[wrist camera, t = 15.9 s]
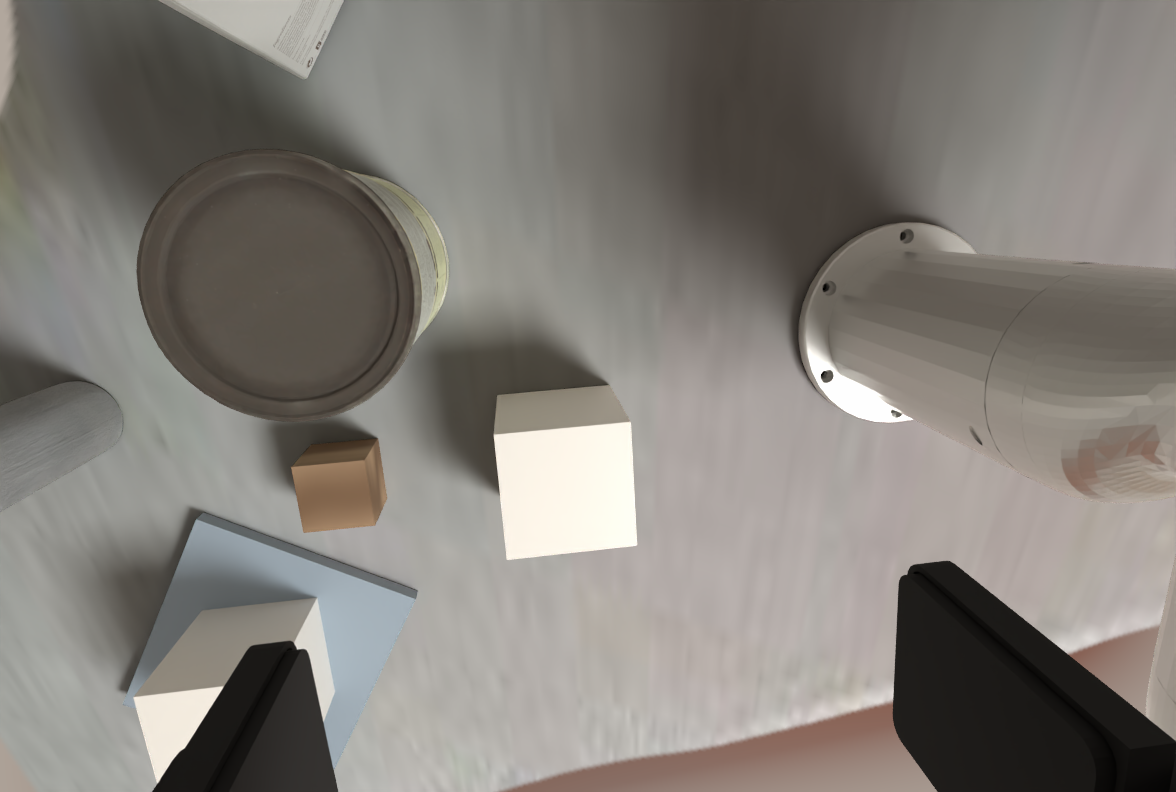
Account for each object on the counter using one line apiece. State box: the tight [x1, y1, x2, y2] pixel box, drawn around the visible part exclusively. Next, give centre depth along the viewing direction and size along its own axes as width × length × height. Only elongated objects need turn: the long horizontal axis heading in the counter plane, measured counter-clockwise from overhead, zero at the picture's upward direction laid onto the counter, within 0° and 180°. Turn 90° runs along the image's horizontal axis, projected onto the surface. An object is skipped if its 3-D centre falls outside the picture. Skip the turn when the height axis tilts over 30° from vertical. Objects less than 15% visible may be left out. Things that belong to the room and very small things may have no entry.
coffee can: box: [137, 149, 449, 422], centre depth 33 cm, size 10×10×14 cm
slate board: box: [123, 512, 418, 769], centre depth 44 cm, size 14×14×1 cm
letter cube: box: [291, 438, 387, 533], centre depth 41 cm, size 4×4×4 cm
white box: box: [133, 598, 335, 784], centre depth 40 cm, size 7×7×8 cm
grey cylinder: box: [0, 381, 123, 512], centre depth 35 cm, size 4×4×10 cm
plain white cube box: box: [494, 385, 637, 560], centre depth 39 cm, size 7×7×8 cm
